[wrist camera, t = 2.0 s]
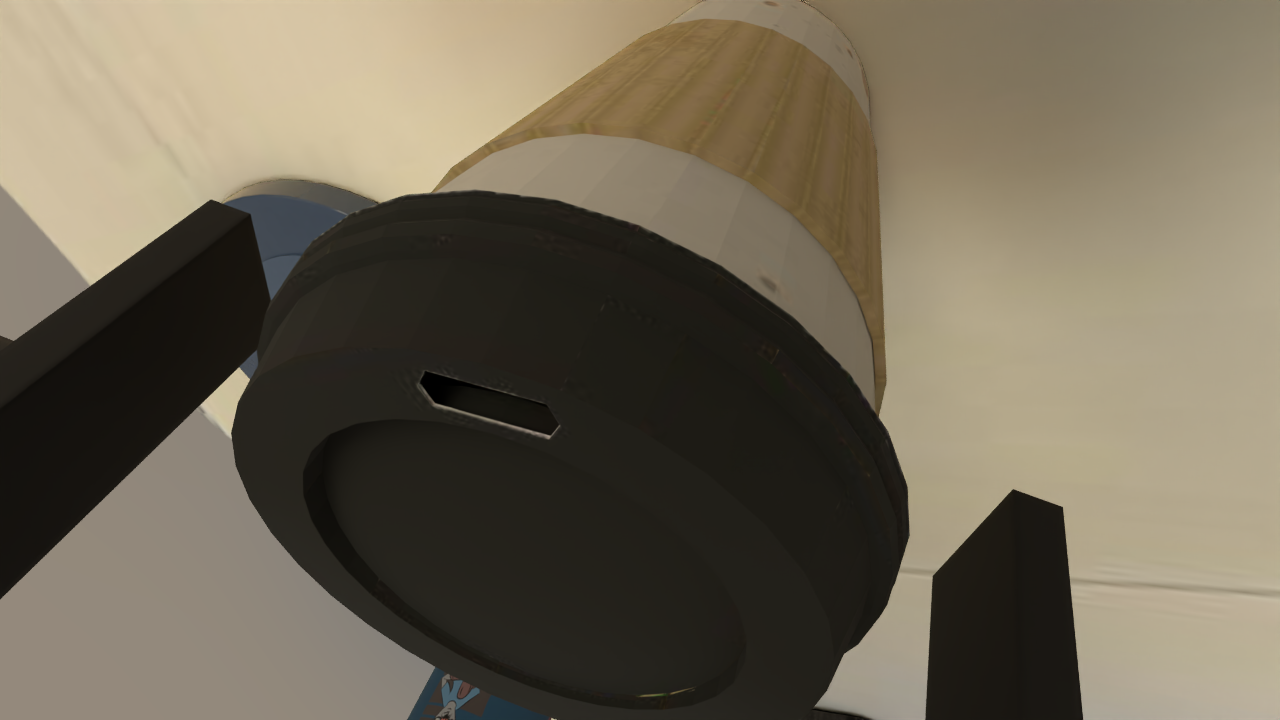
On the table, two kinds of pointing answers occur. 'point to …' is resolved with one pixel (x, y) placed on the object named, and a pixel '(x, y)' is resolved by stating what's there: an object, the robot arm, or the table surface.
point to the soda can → (464, 702)
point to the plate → (290, 224)
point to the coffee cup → (608, 389)
